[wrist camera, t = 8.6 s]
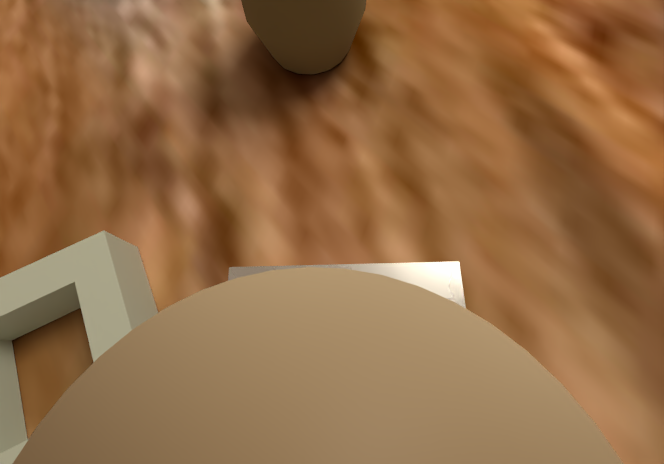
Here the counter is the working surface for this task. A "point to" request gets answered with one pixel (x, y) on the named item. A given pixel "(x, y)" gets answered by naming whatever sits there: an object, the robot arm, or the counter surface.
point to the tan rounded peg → (316, 384)
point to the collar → (68, 311)
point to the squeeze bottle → (305, 30)
